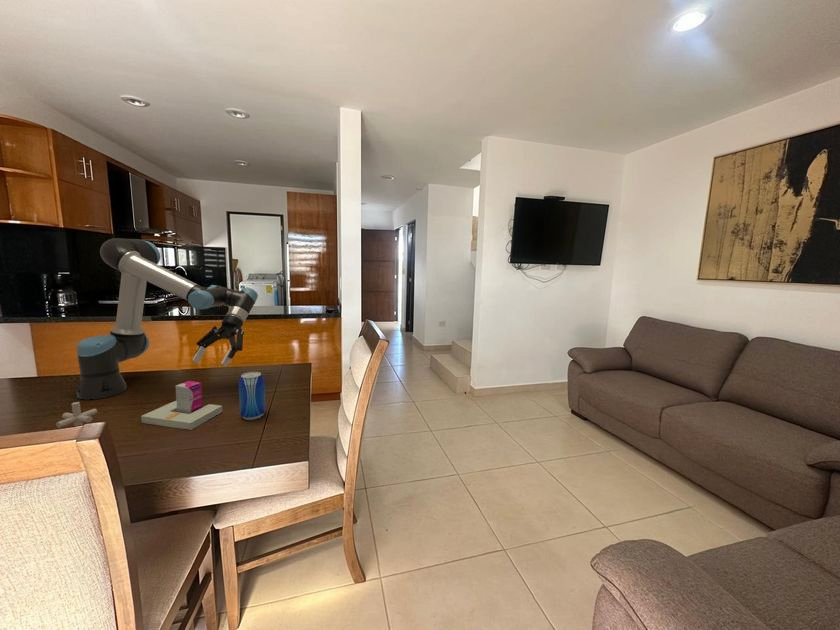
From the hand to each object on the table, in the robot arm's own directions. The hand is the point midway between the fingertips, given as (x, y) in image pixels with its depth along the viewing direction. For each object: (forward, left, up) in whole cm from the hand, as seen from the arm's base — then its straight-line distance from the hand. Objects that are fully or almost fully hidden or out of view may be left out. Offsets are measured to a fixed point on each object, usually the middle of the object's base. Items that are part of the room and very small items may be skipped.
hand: (209, 363), depth 132 cm
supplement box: (+10, -3, -16) cm, 19 cm away
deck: (+13, -4, -16) cm, 21 cm away
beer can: (+14, +20, -16) cm, 29 cm away
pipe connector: (+21, -31, -16) cm, 41 cm away
